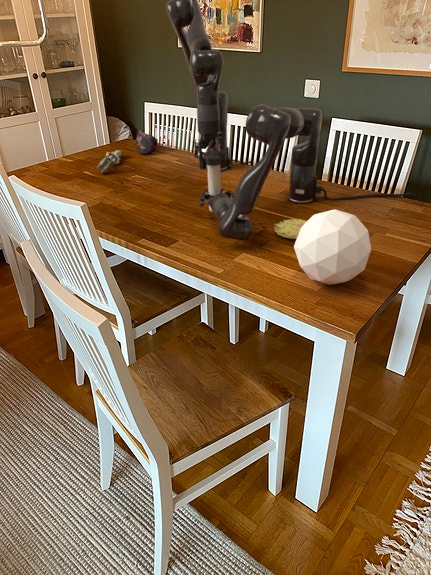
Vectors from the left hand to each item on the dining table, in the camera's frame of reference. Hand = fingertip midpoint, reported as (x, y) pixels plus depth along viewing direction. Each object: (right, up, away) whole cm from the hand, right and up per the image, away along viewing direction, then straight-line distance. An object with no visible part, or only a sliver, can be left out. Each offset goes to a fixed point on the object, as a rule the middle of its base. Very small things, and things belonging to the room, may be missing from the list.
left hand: (210, 166), depth 156 cm
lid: (+1, +2, -2) cm, 3 cm away
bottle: (+2, -14, +9) cm, 16 cm away
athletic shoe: (-33, +30, +79) cm, 91 cm away
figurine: (-49, +16, +59) cm, 78 cm away
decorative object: (+30, -25, -10) cm, 41 cm away
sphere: (+33, -41, -35) cm, 63 cm away
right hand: (+1, -7, +8) cm, 11 cm away
